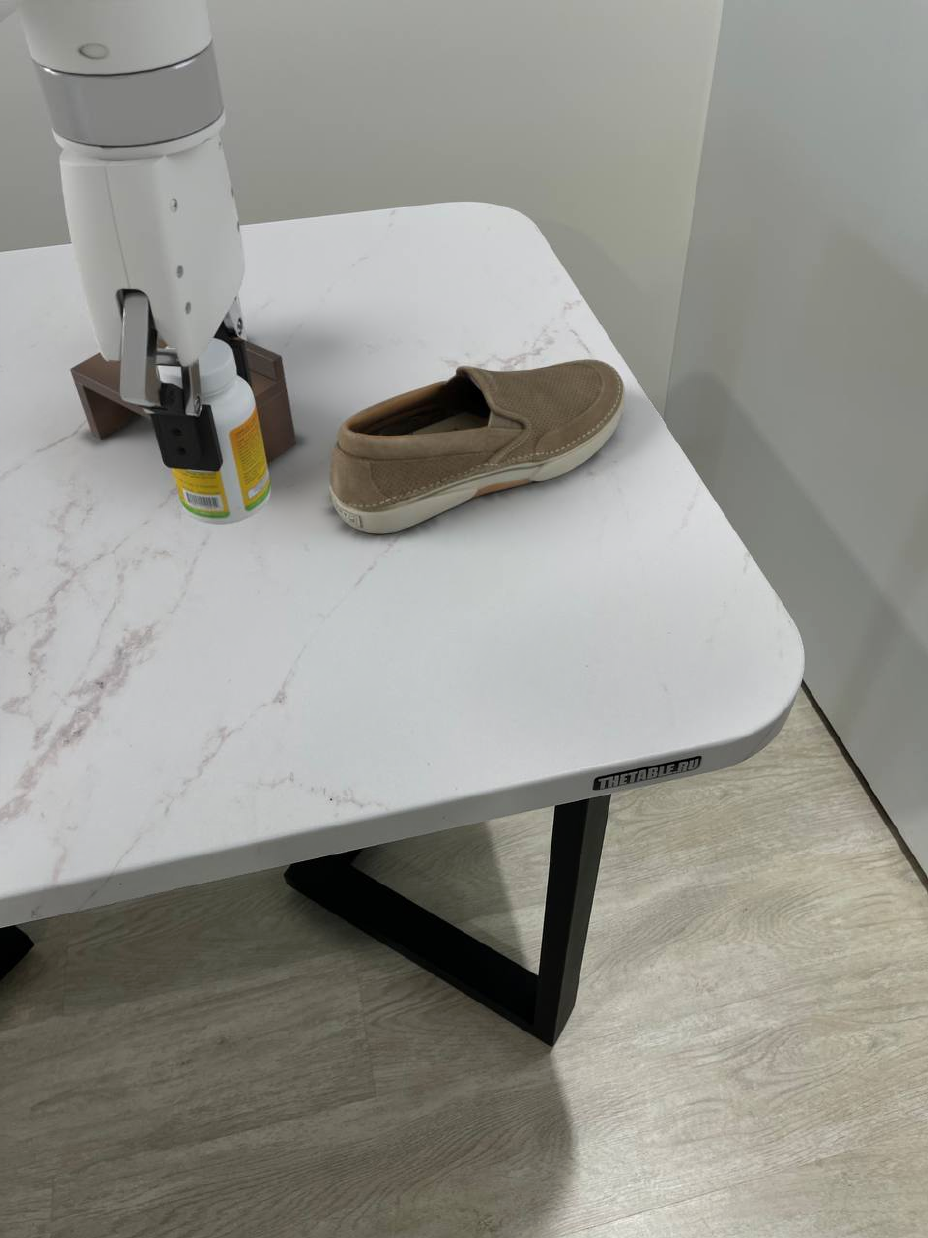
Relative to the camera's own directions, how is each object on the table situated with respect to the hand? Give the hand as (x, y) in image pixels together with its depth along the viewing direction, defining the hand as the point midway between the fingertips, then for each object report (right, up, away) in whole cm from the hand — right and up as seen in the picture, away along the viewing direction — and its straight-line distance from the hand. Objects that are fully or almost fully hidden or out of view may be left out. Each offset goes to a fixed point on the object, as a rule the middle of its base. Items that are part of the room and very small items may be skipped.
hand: (211, 430), depth 57 cm
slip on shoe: (+16, +3, +32) cm, 36 cm away
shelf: (-10, +6, +35) cm, 37 cm away
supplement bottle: (0, -4, +4) cm, 5 cm away
